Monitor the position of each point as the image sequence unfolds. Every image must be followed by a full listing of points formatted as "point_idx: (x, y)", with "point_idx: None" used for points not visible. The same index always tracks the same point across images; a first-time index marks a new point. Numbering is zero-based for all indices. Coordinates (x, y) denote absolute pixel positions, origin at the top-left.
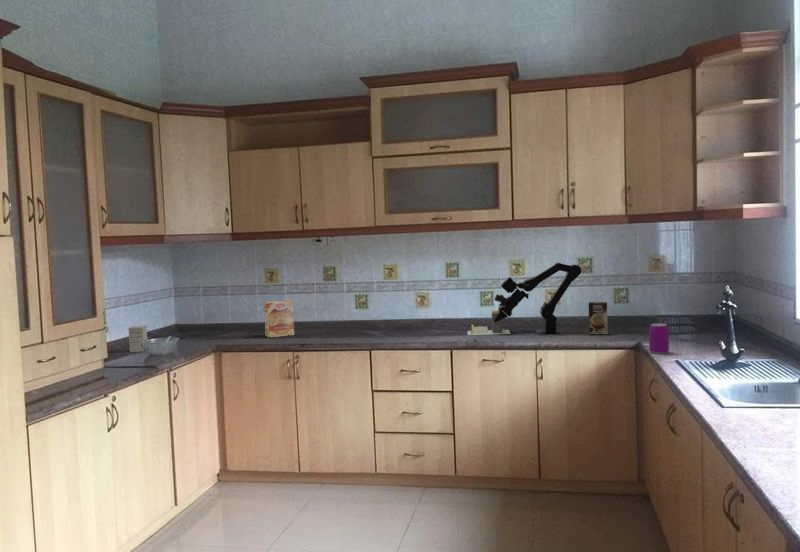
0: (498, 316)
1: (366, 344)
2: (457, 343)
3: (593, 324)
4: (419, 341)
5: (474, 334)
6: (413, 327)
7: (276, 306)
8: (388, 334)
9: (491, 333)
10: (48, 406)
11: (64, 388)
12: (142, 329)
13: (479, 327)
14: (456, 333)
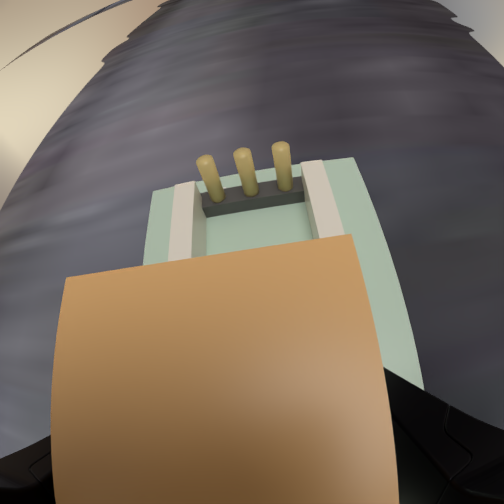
0: None
1: (134, 38)
2: (18, 204)
3: None
4: (123, 85)
5: (158, 229)
6: (448, 34)
7: None
8: (293, 12)
9: None
10: (4, 67)
11: (45, 38)
12: None
13: (314, 220)
14: (336, 122)
